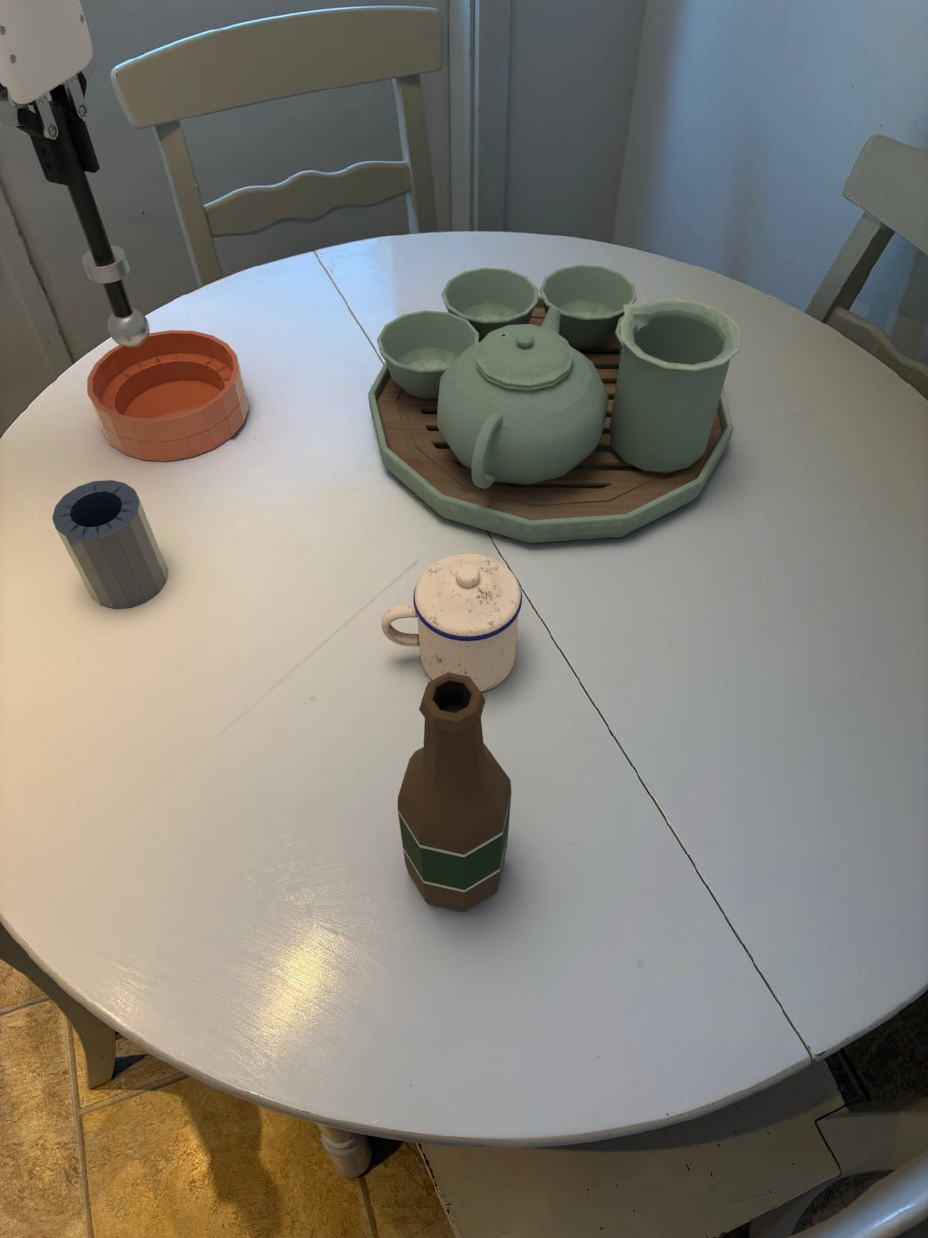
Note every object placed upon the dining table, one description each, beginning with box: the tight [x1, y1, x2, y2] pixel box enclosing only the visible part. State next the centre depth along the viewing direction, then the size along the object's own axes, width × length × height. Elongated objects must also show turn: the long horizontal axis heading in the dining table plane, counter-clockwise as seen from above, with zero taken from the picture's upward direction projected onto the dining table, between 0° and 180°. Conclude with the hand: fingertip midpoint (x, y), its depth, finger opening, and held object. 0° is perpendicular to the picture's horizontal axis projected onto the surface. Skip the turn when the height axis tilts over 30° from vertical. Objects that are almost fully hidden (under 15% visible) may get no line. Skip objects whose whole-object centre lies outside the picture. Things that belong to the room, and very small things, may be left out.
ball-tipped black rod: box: [48, 101, 151, 348], centre depth 79 cm, size 4×4×22 cm
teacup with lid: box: [380, 553, 523, 692], centre depth 76 cm, size 12×9×12 cm
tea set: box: [367, 264, 743, 544], centre depth 95 cm, size 40×40×16 cm
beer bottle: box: [397, 672, 513, 912], centre depth 59 cm, size 8×8×24 cm
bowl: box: [86, 329, 250, 462], centre depth 99 cm, size 16×16×6 cm
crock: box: [51, 479, 169, 610], centre depth 82 cm, size 7×7×10 cm
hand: (73, 174), depth 75 cm, fingers closed on ball-tipped black rod
